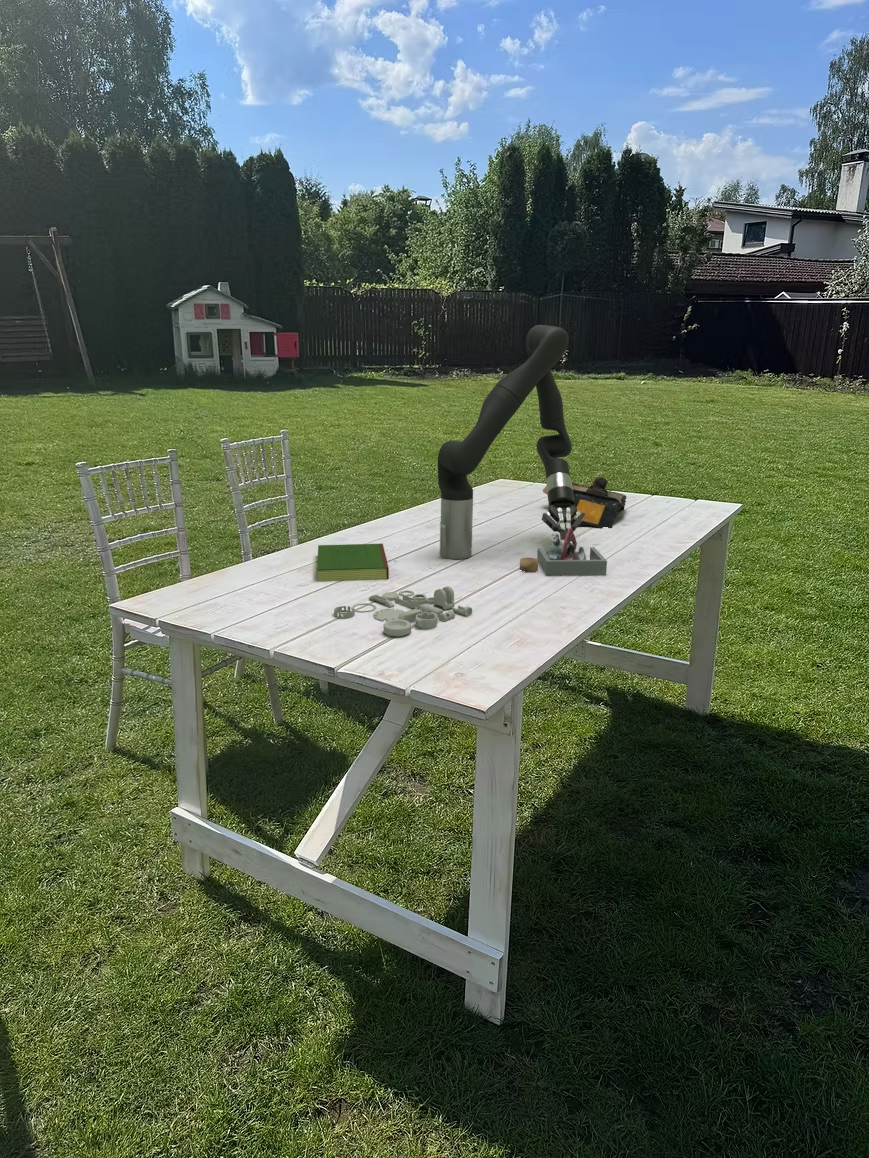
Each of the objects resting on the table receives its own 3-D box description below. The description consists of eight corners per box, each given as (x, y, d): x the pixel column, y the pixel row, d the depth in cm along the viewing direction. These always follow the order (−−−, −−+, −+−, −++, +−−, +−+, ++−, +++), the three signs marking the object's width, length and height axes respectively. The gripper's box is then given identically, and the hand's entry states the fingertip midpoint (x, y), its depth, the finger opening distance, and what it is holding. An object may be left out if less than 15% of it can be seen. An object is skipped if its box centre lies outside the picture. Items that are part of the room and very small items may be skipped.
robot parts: (324, 616, 184) (323, 594, 182) (403, 591, 200) (403, 571, 198) (395, 645, 167) (394, 622, 165) (475, 615, 183) (475, 594, 182)
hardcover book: (388, 580, 208) (388, 567, 207) (317, 583, 206) (317, 569, 205) (382, 555, 232) (382, 542, 230) (318, 556, 229) (318, 544, 228)
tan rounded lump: (521, 573, 214) (521, 562, 213) (518, 567, 219) (518, 557, 218) (539, 572, 214) (539, 562, 213) (536, 567, 219) (536, 557, 218)
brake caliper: (584, 565, 212) (561, 528, 212) (553, 584, 218) (530, 547, 218) (598, 555, 221) (575, 519, 222) (567, 573, 227) (545, 538, 228)
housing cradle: (546, 575, 211) (546, 561, 210) (537, 561, 224) (537, 547, 223) (606, 575, 212) (607, 560, 211) (593, 560, 225) (594, 547, 224)
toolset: (635, 527, 258) (572, 478, 255) (595, 568, 267) (534, 521, 264) (630, 487, 294) (574, 443, 290) (595, 525, 303) (540, 482, 299)
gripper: (539, 485, 228) (546, 536, 220) (584, 484, 228) (592, 536, 221) (535, 498, 234) (541, 549, 227) (579, 498, 235) (586, 549, 227)
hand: (566, 542), depth 224 cm, fingers closed
